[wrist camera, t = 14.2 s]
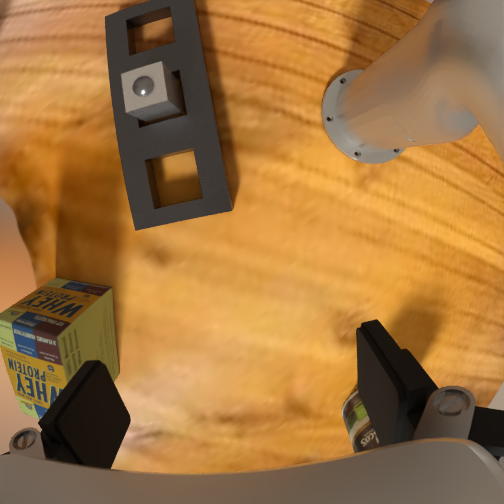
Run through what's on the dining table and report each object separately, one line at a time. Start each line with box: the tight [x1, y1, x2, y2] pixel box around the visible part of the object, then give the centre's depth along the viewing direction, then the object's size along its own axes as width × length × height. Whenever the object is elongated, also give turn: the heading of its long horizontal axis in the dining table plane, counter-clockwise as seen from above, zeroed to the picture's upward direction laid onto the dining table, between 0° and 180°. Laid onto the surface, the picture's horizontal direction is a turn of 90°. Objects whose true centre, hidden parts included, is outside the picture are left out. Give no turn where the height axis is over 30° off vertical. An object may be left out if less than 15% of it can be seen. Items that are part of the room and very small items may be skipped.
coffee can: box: [342, 390, 381, 453], centre depth 40 cm, size 10×10×14 cm
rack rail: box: [105, 0, 234, 231], centre depth 35 cm, size 12×30×3 cm, turn 10°
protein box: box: [0, 278, 119, 420], centre depth 36 cm, size 10×15×16 cm
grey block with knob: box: [121, 61, 186, 124], centre depth 32 cm, size 4×4×9 cm
